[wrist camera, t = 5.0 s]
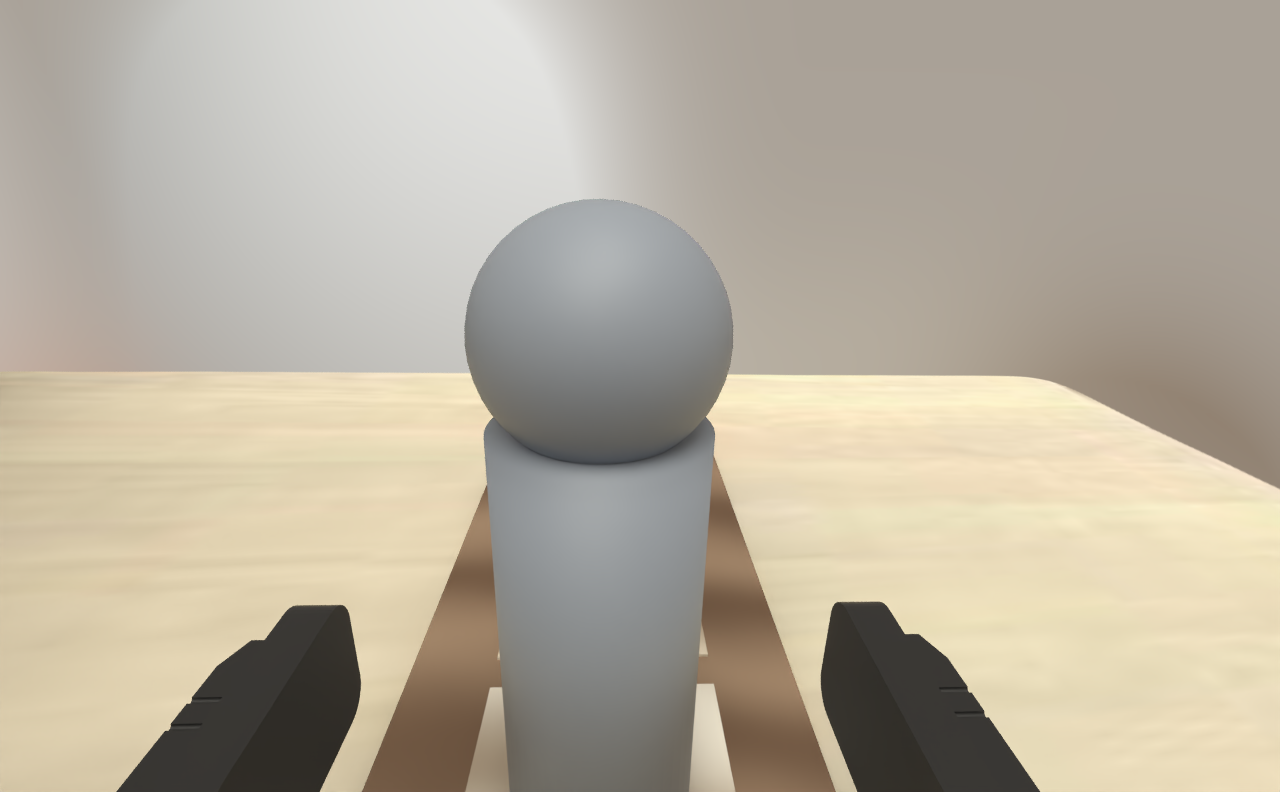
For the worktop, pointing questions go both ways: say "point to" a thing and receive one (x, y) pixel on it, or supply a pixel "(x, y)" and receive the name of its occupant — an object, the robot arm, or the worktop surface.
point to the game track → (725, 694)
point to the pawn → (599, 488)
